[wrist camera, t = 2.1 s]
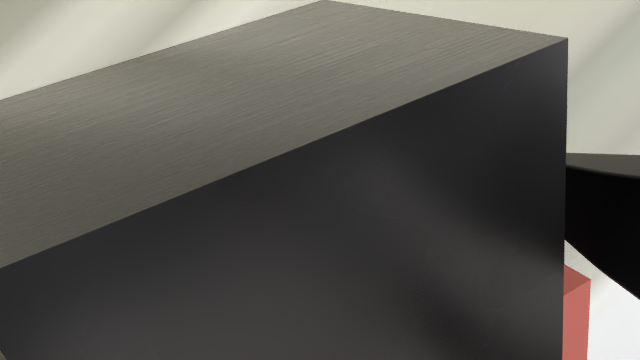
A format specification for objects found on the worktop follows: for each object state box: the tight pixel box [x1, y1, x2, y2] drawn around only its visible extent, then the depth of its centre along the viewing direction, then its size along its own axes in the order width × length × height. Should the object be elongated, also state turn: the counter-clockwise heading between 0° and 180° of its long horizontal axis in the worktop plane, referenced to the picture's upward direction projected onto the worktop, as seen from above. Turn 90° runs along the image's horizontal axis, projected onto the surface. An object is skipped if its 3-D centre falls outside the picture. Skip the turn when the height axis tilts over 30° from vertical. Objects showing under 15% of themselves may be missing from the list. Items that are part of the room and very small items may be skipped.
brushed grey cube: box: [0, 0, 568, 360], centre depth 9 cm, size 6×6×6 cm
